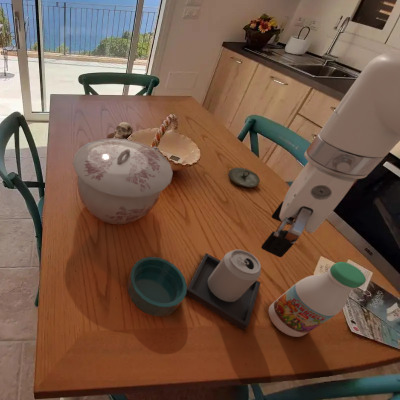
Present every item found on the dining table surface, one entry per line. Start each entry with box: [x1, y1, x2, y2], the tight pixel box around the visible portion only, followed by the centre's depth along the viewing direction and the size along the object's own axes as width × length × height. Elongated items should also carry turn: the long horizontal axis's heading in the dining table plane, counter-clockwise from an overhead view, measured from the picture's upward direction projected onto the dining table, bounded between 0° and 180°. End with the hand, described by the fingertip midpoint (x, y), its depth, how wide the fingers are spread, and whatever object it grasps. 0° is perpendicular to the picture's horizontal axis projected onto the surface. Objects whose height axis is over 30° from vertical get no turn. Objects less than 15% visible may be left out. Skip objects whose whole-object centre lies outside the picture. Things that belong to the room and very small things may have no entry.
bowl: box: [126, 256, 188, 317], centre depth 63 cm, size 13×13×5 cm
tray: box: [185, 252, 262, 331], centre depth 65 cm, size 14×14×2 cm
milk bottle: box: [268, 261, 367, 338], centre depth 54 cm, size 8×8×20 cm
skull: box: [106, 121, 134, 139], centre depth 115 cm, size 12×10×10 cm
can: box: [208, 248, 262, 302], centre depth 61 cm, size 8×8×12 cm
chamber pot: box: [72, 138, 174, 226], centre depth 78 cm, size 28×28×21 cm
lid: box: [228, 167, 261, 189], centre depth 98 cm, size 11×10×5 cm
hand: (275, 235), depth 49 cm, fingers open, 9 cm apart
